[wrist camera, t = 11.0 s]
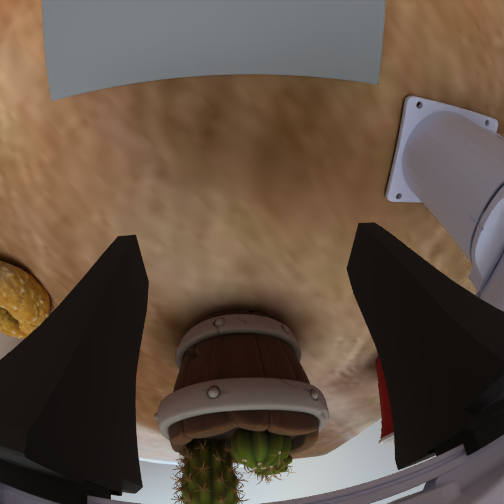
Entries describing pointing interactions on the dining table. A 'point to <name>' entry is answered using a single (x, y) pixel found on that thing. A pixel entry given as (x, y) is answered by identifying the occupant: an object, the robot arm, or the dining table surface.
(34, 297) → the bagel
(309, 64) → the socket board
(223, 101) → the dining table surface
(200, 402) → the flowerpot
